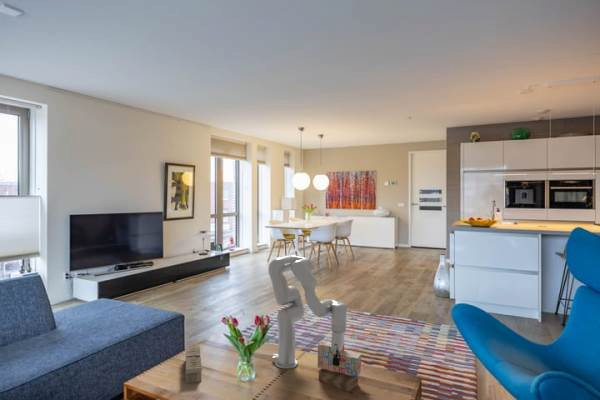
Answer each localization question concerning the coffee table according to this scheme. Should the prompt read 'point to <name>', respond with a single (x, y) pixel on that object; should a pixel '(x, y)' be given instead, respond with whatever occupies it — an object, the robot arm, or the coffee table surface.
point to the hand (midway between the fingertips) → (337, 362)
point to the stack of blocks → (347, 360)
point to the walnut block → (338, 379)
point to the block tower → (193, 364)
